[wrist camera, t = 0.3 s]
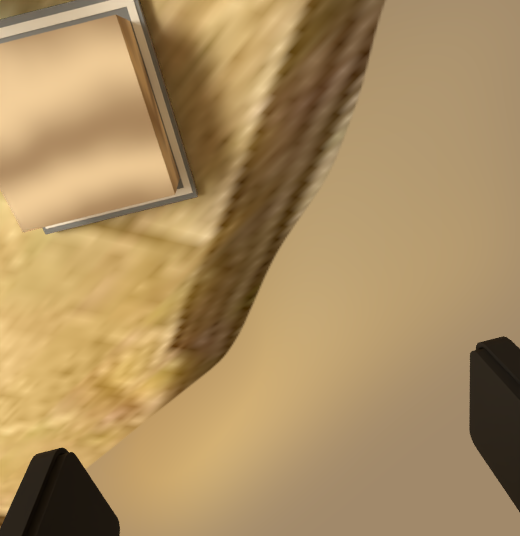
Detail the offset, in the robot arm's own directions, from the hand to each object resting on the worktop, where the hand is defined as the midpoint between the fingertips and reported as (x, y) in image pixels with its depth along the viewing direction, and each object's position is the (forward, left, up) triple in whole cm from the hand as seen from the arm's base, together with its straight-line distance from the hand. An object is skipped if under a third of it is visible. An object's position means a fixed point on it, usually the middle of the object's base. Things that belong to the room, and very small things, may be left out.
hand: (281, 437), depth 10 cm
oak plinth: (-6, -11, -29) cm, 32 cm away
